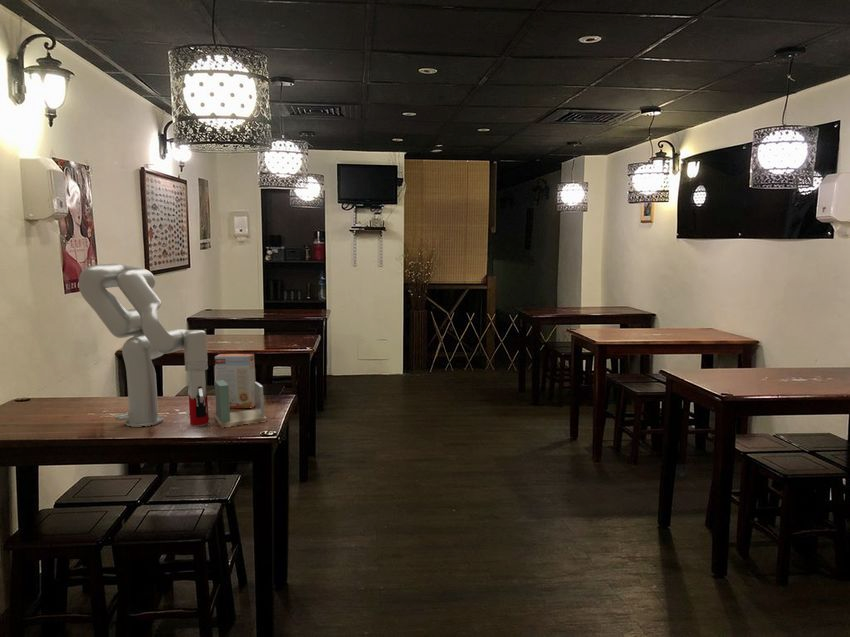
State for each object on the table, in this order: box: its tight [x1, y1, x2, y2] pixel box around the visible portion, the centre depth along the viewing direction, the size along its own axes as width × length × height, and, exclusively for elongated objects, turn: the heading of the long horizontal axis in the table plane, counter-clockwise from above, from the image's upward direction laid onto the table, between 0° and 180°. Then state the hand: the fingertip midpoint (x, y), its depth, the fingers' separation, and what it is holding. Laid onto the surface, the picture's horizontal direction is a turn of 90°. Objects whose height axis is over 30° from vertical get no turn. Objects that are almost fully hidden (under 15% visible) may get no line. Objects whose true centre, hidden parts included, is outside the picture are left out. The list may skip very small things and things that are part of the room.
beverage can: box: [188, 393, 210, 427], centre depth 230 cm, size 6×6×12 cm
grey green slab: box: [214, 380, 231, 422], centre depth 233 cm, size 3×10×13 cm, turn 28°
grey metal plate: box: [254, 381, 265, 417], centre depth 239 cm, size 1×9×11 cm, turn 28°
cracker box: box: [214, 353, 256, 409], centre depth 254 cm, size 14×6×21 cm, turn 84°
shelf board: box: [213, 409, 268, 429], centre depth 236 cm, size 16×14×2 cm
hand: (199, 413), depth 230 cm, fingers open, 7 cm apart
